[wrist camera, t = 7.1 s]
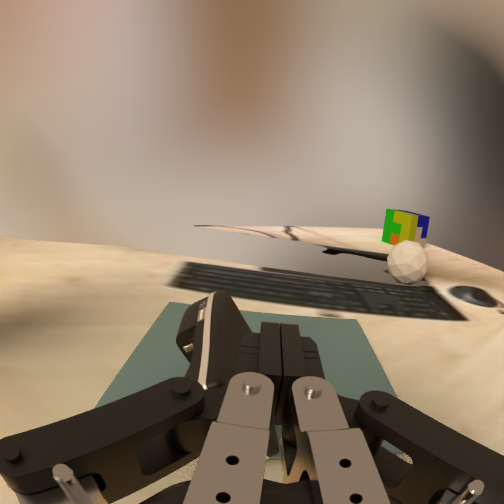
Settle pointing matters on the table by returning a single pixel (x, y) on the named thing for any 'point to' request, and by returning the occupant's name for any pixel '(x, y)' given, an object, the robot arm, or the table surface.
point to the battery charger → (215, 345)
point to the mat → (317, 328)
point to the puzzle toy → (404, 227)
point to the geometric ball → (408, 262)
